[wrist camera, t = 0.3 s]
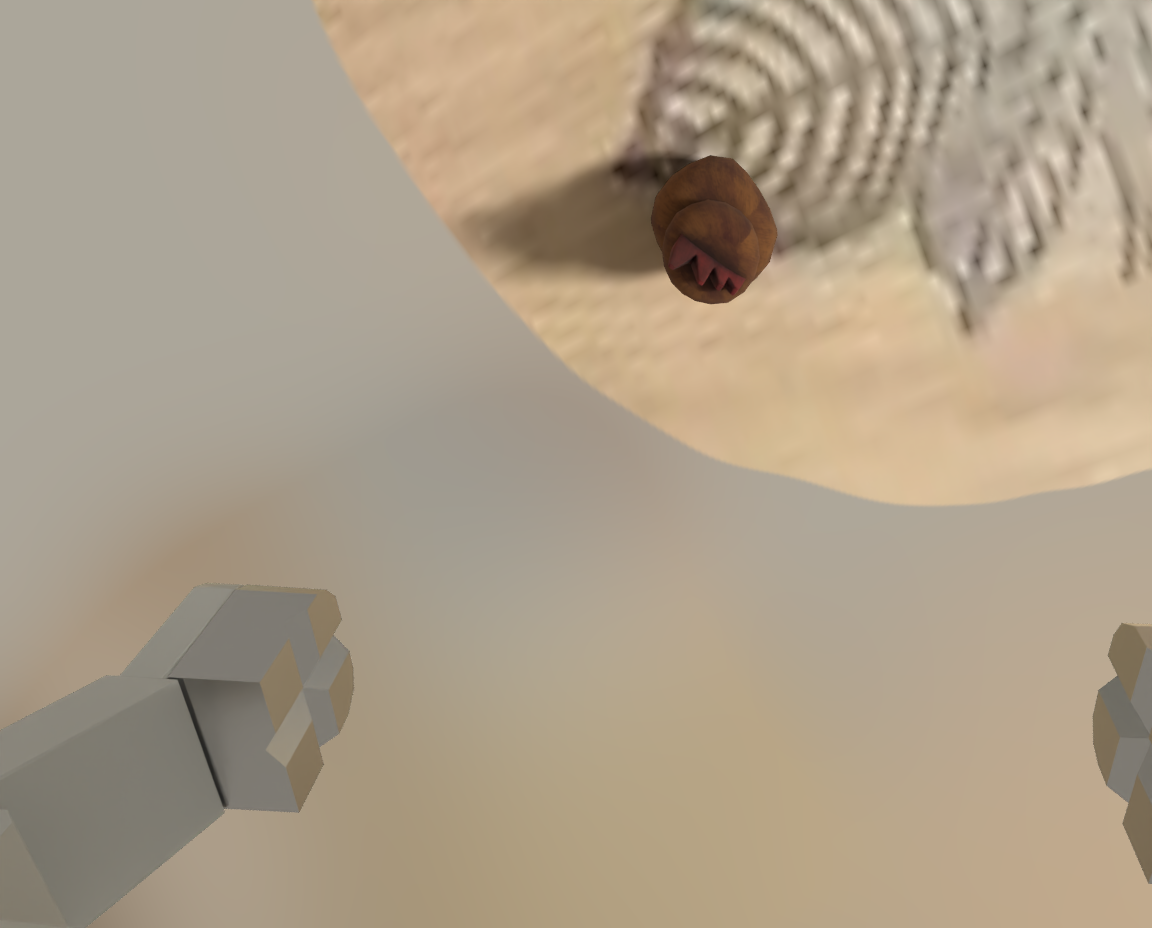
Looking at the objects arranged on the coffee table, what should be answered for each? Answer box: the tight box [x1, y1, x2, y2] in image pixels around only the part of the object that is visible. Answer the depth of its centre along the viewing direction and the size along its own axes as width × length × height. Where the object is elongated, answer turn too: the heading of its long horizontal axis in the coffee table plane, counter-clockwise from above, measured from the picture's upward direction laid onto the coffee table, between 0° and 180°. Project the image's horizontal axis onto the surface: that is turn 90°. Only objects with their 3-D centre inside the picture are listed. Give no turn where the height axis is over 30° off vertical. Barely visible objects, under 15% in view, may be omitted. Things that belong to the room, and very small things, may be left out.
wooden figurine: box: [651, 155, 777, 304], centre depth 47 cm, size 7×6×15 cm
